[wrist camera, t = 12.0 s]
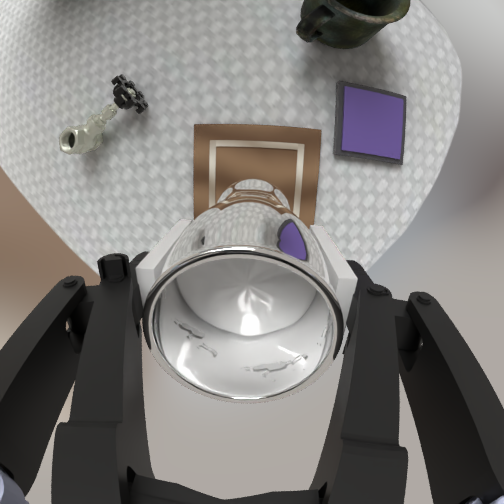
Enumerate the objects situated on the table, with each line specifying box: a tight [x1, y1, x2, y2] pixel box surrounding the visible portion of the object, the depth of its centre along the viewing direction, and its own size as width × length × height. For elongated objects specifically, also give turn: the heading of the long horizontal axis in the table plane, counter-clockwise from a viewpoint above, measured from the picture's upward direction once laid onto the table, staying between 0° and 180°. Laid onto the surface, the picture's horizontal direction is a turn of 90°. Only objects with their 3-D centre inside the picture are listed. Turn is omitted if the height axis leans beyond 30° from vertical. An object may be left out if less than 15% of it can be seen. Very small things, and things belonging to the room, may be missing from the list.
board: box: [194, 124, 321, 229], centre depth 35 cm, size 16×16×1 cm
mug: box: [296, 0, 410, 49], centre depth 21 cm, size 11×15×12 cm
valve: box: [59, 74, 148, 155], centre depth 30 cm, size 7×7×12 cm
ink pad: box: [333, 81, 406, 165], centre depth 31 cm, size 10×10×2 cm
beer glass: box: [142, 179, 344, 403], centre depth 15 cm, size 7×7×15 cm
